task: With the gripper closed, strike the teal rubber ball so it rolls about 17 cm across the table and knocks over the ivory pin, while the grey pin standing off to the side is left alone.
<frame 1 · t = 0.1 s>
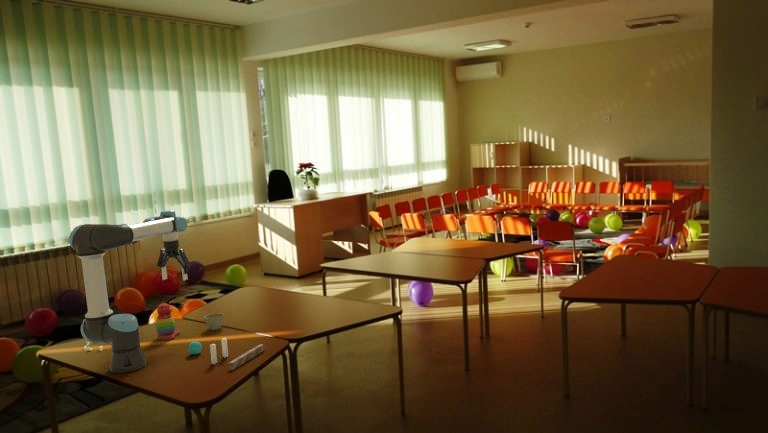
hand: (175, 279, 307), 28 cm above the table, tool pointing down, fingers open, 13 cm apart
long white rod: (247, 359, 260), on the table
stacking bear: (167, 337, 301), on the table
ivory pin: (225, 356, 266), on the table
game piece set: (105, 346, 295), on the table
grey round cup: (215, 329, 311), on the table
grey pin: (214, 363, 259), on the table
ball: (195, 347, 272), on the table
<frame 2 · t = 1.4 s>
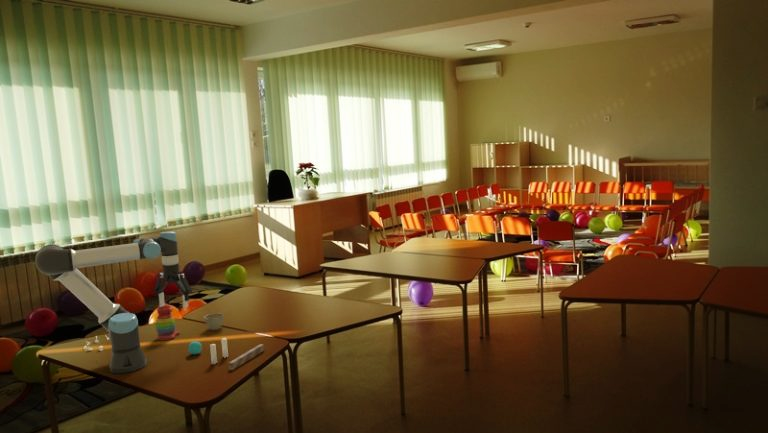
hand: (174, 307, 281), 20 cm above the table, tool pointing down, fingers open, 13 cm apart
nothing on the table moved.
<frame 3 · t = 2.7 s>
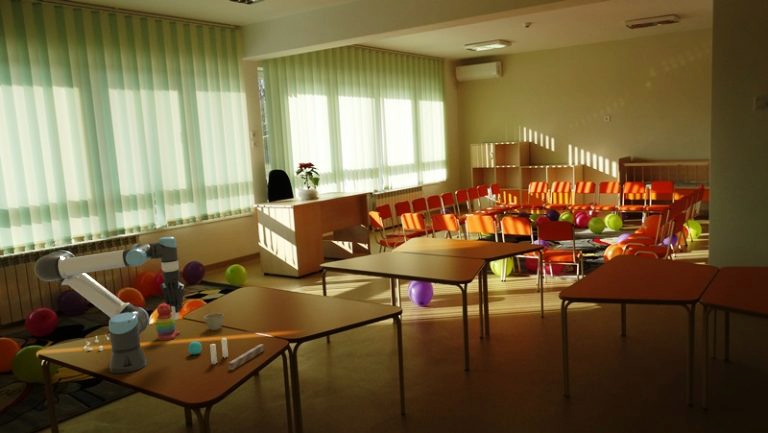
hand: (176, 319, 274), 16 cm above the table, tool pointing down, fingers closed
nothing on the table moved.
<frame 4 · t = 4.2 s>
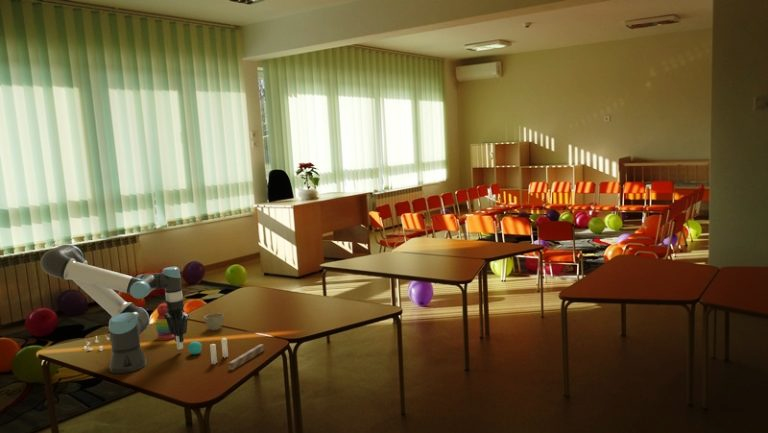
hand: (180, 348, 276), 2 cm above the table, tool pointing down, fingers closed
nothing on the table moved.
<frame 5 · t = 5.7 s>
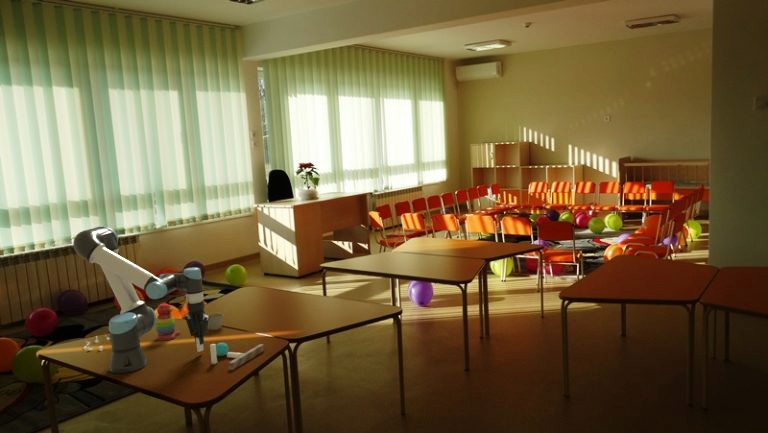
hand: (200, 350, 271), 2 cm above the table, tool pointing down, fingers closed
ivory pin: (228, 354, 265), point 1 cm above the table, tilted 90°
ball: (221, 349, 268), on the table
everything else where it was.
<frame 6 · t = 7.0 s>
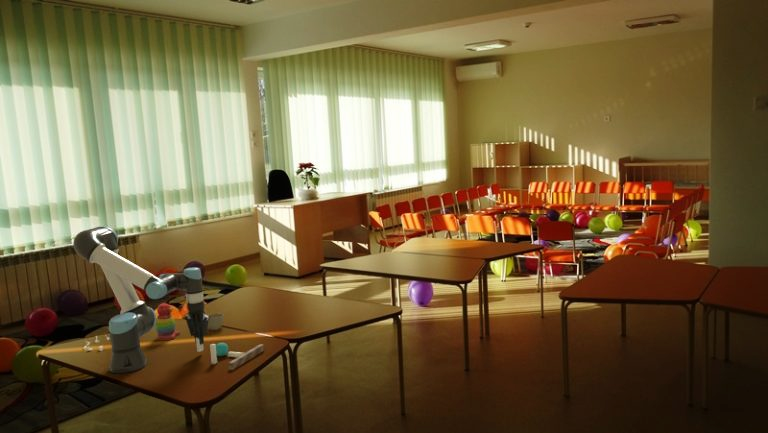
hand: (200, 350, 271), 2 cm above the table, tool pointing down, fingers closed
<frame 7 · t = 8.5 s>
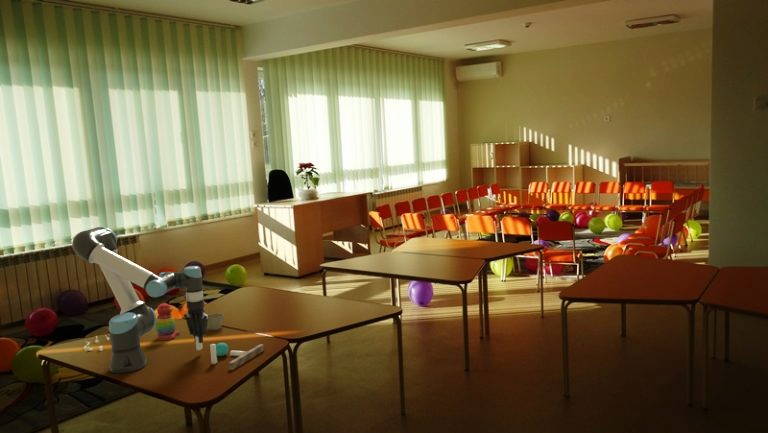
hand: (199, 349, 271), 3 cm above the table, tool pointing down, fingers closed
ivory pin: (231, 352, 267), point 1 cm above the table, tilted 90°
everything else where it was.
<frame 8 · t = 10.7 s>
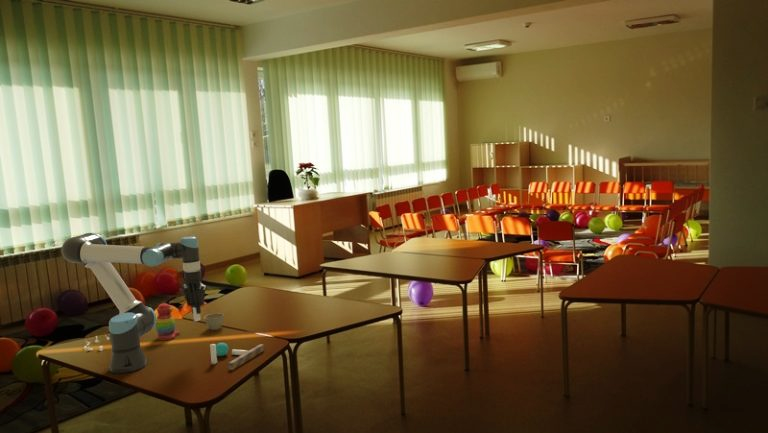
hand: (197, 320, 269), 16 cm above the table, tool pointing down, fingers closed
ivory pin: (233, 351, 269), point 1 cm above the table, tilted 90°
everything else where it was.
at the end: ivory pin tilted 90°; ivory pin never touched the robot; ball moved 14.3 cm from its start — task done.
